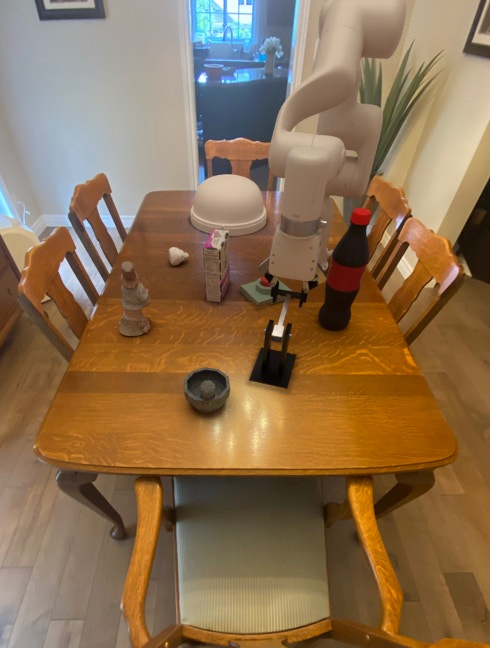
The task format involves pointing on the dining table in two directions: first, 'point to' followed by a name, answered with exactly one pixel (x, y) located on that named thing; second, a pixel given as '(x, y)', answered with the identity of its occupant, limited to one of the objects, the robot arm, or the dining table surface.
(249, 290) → the control block
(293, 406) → the dining table surface
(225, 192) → the dome cover
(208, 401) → the mortar and pestle
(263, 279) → the button
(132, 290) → the figurine
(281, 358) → the bracket
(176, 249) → the garlic bulb
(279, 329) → the lever
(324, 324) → the cola bottle
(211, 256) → the candy bar box
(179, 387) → the dining table surface
